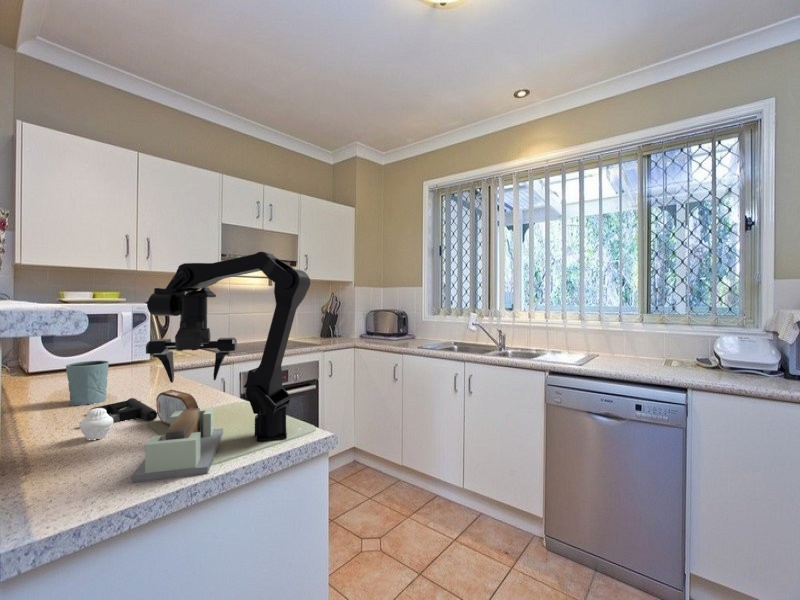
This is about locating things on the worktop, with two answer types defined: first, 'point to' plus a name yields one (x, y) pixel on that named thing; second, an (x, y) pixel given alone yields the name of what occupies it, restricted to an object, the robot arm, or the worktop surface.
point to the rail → (185, 424)
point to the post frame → (180, 452)
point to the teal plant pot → (87, 382)
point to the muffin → (96, 424)
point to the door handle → (129, 410)
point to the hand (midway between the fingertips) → (193, 381)
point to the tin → (173, 404)
